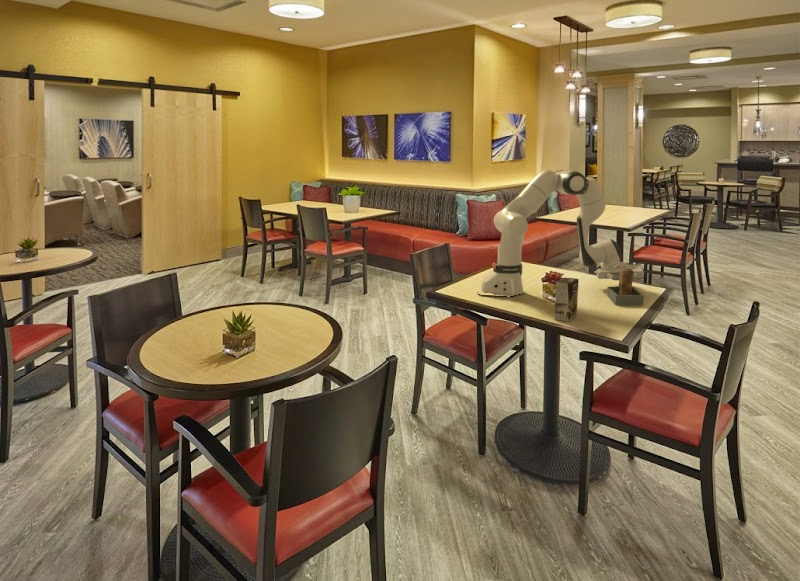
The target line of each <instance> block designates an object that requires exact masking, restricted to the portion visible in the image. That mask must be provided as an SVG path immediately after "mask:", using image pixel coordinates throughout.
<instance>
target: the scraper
mask: <svg viewBox="0 0 800 581" xmlns="http://www.w3.org/2000/svg"><path fill="white" fill-rule="evenodd" d="M633 280H634V279H633V270H631V269H620V276H619V280H618V287H619V291H618V293H616V294H617V295H631V293H632V286H633Z"/></svg>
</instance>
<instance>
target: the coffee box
mask: <svg viewBox="0 0 800 581" xmlns="http://www.w3.org/2000/svg"><path fill="white" fill-rule="evenodd" d="M578 296H579V278H573V277H562V278H560V279H558V280H557V281H556V282H555V299H554V302H555V303H554V318H553V319H554V320H556V321H560V322H561V321H562V322H566V321H567V322H566V323H569V322H571V321H572V320H573V319H575V318H576V317H577V316H578V315H577V314H578Z"/></svg>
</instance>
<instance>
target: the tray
mask: <svg viewBox="0 0 800 581" xmlns="http://www.w3.org/2000/svg"><path fill="white" fill-rule="evenodd" d="M606 290H607V291H606V296H607V298H610V301H611V302H612V303H613V304H614V305H615V306H644V301H645V300H644V299H645V294H643V293H642V292H641V291H639V290H638V289H637V288H636V287H635V286H633V285H632V293H631V295H617V294H616V293H618V291H619V286H607V288H606Z"/></svg>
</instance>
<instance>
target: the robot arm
mask: <svg viewBox="0 0 800 581" xmlns="http://www.w3.org/2000/svg"><path fill="white" fill-rule="evenodd" d="M601 189H602V188H601V187H600V184H599V183H598V181H597V180H596V178H594V177H592V176H591V177H590V176H587V177H586V176H585V175H584V174H583V173H581V172H579V171H578V170H577V171H575V170H571V169H561V170H557V171H554V170H551V169H543V170H542V171H541V172H539V173H538V174H537V175H535V177H533V178H532V179H531V180H530V182H529V183H528V184H527V185H526V186H525V187H524V188H523V190H522V191H521V192H520V193H519V194H518V195H517V196H516V197H515V198H514V199H513V200H512V201H510V202H509V203H508V204H507V205H506V206H505V207H503V209H501V210H499V211H497V212H496V214H495V215H494V217H493V224H494V226H495V229H496V230H497V231H498V232H500V233H501V236H500V241H499V244H498V246H497V262H496V263H495V262H493V263H492V265H491V267H492V270H493V271H491V272H490V273H489V274H488V275H487V276H485V277H483V279H482V282H481V285H480V287H481V291H482V292H484V293H492V294H494V295H503V296H514V295H517V296H519V295H518V294H521V295H523V294H525V291H524V286H523V281H522V280H523V279H522V276H523V263H522V250H523V249H522V248H523V244H524V243H523V242H524V240H525V239H524V238H525V235H526V233H527V231H528V228H529V223H528V221H527V218H528V217H529V216H531V215H533V214H535V213H536V212H537V211H538V210H539V209H540V208H541V207H542V206H543V204H544V203H545V202H546V201H547V200H548V198H550V196H551V194H553V193H554V192H557V193H561V194H563V195H569V196H576V197H577V200H578V203H579V207H580V208H579V209H580V210H579V214H578V216H577V217H576V227H577V228H576V231H577V239H578V240H577V241H578V247H579V248H578V249H579V250H578V251H579V254H578V255H579V261H580V263H581V264H582V265H583V266H584V267H587V268H593V267H594V266H597V265H598V264H600V267H599V268H597V269H596V270H594V271H593V272H594V274H596V277H597V279H599V280H612V281H619V276H620V269H631V270H633V279H632V280H637V279H638V280H639V279H643V278H644V274H645V272H644V270H643V268H641V267H640V266H637V264H636V263H628V262H623V261H621V259H622V250H621V248H620V246H619V243H617V242H616V241H615V240H613V239H611V238H609V239H605V240H602V241H600V242H597V243H594V244H591V245H589V240H588V230H589V227H590V226H591V225H592V224H593V223H595V222H596V221H597V220H598V219H599V218H601V216H602V215H603V214H604V212H605V210H606V202H605V198H604V195H603V191H602V190H601ZM522 293H523V294H522ZM514 297H515V296H514Z"/></svg>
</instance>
